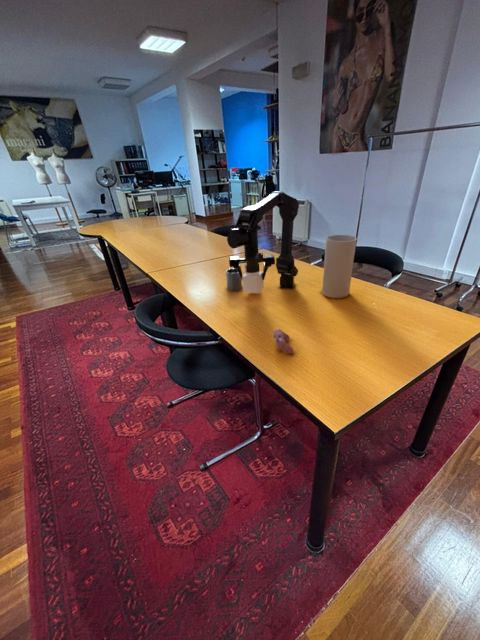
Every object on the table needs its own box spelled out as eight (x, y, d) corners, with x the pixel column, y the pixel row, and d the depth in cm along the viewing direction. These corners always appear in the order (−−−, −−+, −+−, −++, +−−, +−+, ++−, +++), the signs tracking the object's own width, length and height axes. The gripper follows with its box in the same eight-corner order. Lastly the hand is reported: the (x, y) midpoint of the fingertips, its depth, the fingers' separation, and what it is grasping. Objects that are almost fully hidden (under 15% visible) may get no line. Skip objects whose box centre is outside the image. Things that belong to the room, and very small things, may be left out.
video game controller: (278, 343, 105) (269, 328, 102) (290, 337, 105) (281, 322, 101) (282, 359, 97) (273, 343, 94) (295, 353, 96) (285, 337, 93)
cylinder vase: (316, 294, 138) (320, 238, 125) (330, 286, 146) (336, 233, 132) (340, 301, 131) (347, 242, 118) (353, 292, 139) (362, 237, 125)
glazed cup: (244, 286, 150) (242, 268, 145) (238, 291, 144) (237, 273, 139) (230, 285, 152) (229, 267, 147) (225, 290, 146) (223, 272, 141)
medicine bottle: (264, 287, 131) (262, 260, 125) (258, 293, 126) (256, 266, 119) (249, 286, 133) (247, 259, 127) (243, 292, 128) (240, 265, 121)
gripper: (227, 249, 111) (231, 288, 120) (276, 246, 112) (276, 285, 121) (227, 242, 121) (231, 279, 129) (273, 240, 121) (273, 276, 130)
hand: (253, 280), depth 127 cm, fingers closed on medicine bottle, 8 cm apart
